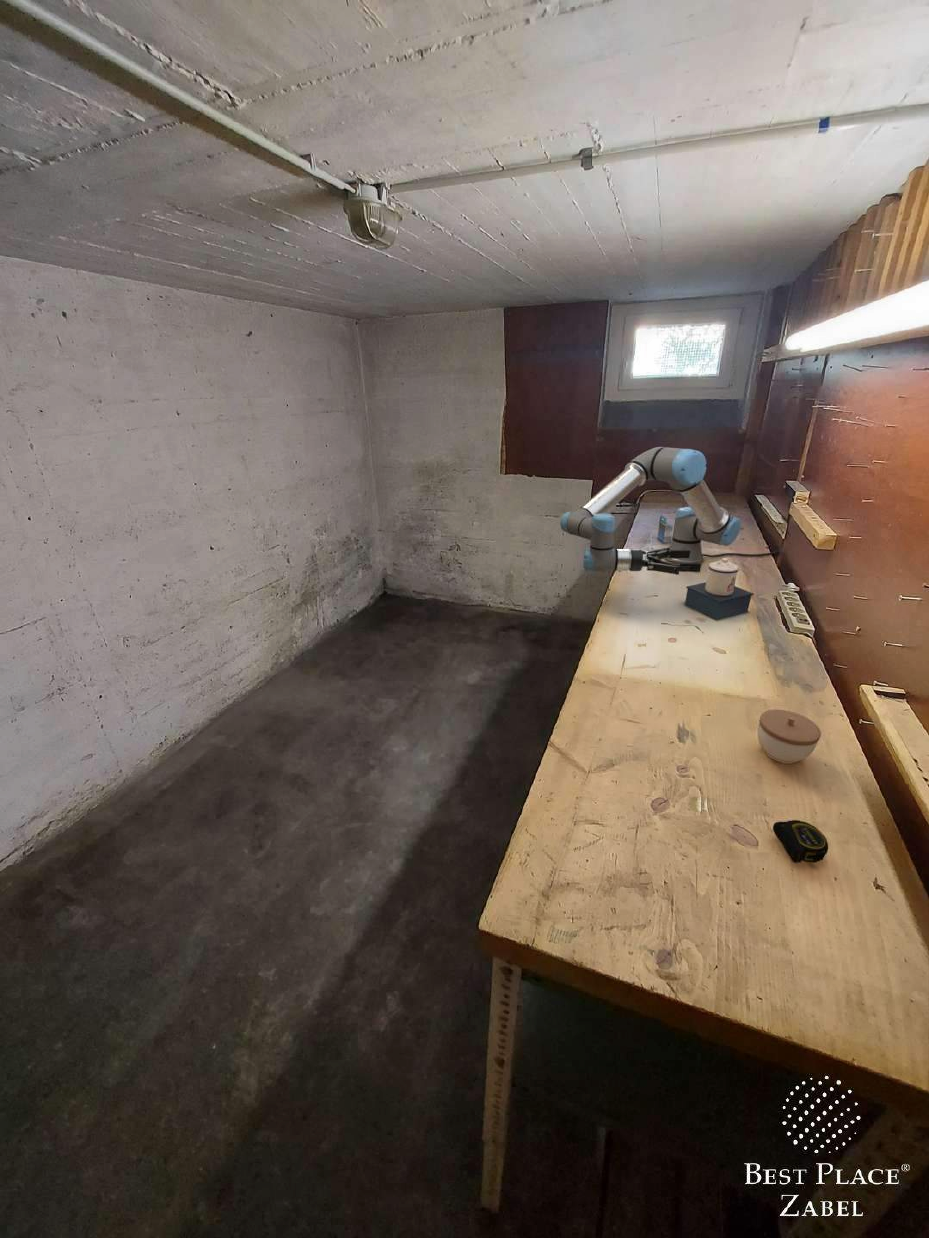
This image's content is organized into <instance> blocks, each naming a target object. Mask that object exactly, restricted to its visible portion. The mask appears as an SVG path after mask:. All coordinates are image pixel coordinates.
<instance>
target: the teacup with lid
mask: <svg viewBox="0 0 929 1238" xmlns="http://www.w3.org/2000/svg"><path fill="white" fill-rule="evenodd" d="M739 571H740V569H739V566H738V565H737V564H735V563H733V562H731V561H730V560H729V558H727V557H723V558H721V560H718V561H713V562H710V563H709V564H708V570H707V576H706V581H705V582H706V586H705V590H706V591H707V592H708V593H710V594H713V595H718V596H727V595H731V594H732V593H733V590H734V586H736V580H737V576H738V572H739Z"/></svg>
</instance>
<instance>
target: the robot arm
mask: <svg viewBox="0 0 929 1238" xmlns="http://www.w3.org/2000/svg"><path fill="white" fill-rule="evenodd" d="M706 472H707V460H706V457H705V455H704V454H703V453H702V452H701V451H699V450H697V449H696V450H695V449H692V448H680V447H679V448H677V447H666V446H658V447H657V446H656V447H653V448H651V449H648V450H646V451H644V452H642V453H641V454H639V455H637V456H635V457H634V458H633V459H632V460H630V461H629V462H628V463H627V464H626V465H625V467H624V470H623V471H622V472H621V473H619V474H618V475H617V476H615V477H614V479H612V480H611V481H610V482H608V483H607V484H606V485H605V486H604V487H603V488H602V489H601V490H599V491H598V492H597V493H596V494H595V495H593V496H592V497H591V498H590V499H588V501H586V502H585V503H584V504H583V505H582V506H580V507H579V508H578V509H577V510H576V511H575V512H574V511H567V512H565V513H564V514H562V516H561V518H560V521H559V527H560V529H561V530H562V532H564V533H567V534H569V535H573V536H576V537H579V538H582V539H585V540H589V541H590V544H589V548H586V549H584V550H583V556H582V568H583V570H585V571H589V572H618V573H621V572H628V571H630V572H641V571H642V568H646V571H648V572H649V571H651V572H658V573H659V572H660V573H666V574H672V575H678V576H679V575H680V573H700V572H701V568H702V562H703V558H704V557H708V558H716V557H722V556H723V557H724V556H741V557H762V556H771V555H775V554H778V553H777V552H776V551H777V550H775V551H772V552H764V553H737V552H725V553H719V554H705V553H703V552H702V551H703V550H702V542H703V541H704V542H707V543H709V544H710V543H711V544H715V545H718V546H723V547H728V546H730V545H732V544H733V543H734V542H735V541H736V539H737V537H738V536H739V533H740V530H741V528H742V521H741V519H740V518H738V517H736V516H731V515H730V513H729V511H728V510H727V509H726V508H725V507H721V506H720V505H719V503H718V502H717V500H716V498H715V496H714V495H713V493H712V492H711V490H710V488H709V487H708V485H707V484H706V481H705V480H704V477H705V475H706ZM649 481H659V482H665V483H667V484H668V485H669V486H670V488H671V489H672V490H673V491H674V492H675V493H680V494H681V496H682V497H683V499H684V500H685V502H686V503H687V505H688V506H684V507H683V506H682V507H679V508H678V509H677V510H676V513H675V516H674V523H673V530H672V537H671V542H670V544H669V545H668V547H662V548H655V549H650V550H649V549H648V550H643V549H639V548H634V549H628V548H616V549H615V548H613V547H614V538H615V531H616V526H615V524H616V518H615V515H613V514H611V513H608V512H609V511H610V510H611V509H613V508H614V507H615V506H616V505H617V504H618V503H620V501H622V500H623V499H624V498H625V497H626V496H628V495H629V494H630V493H631V492H632V491H633V490H635V489H636V488H637V487H640V486H643V485H644V484H646V483H647V482H649ZM662 559H665V560H662ZM666 560H667V561H666Z"/></svg>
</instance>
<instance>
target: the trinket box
mask: <svg viewBox="0 0 929 1238" xmlns="http://www.w3.org/2000/svg"><path fill="white" fill-rule="evenodd" d="M758 721H759V722H758V726H757V740H758V742H759V745H760V747H761V748H762V750H763V751H764V752H765V754H766V755H767V756H768V757H769V758H770V759H772V760H774V761H776V762H779V763H781V764H789V765H790V764H795V763H797V762H802V761H804V760H806V759H808V757H810V756H811V755H812V754H813V752H814V751H815V749H816V747H817V745H818V742H819V741H820V739H821V737H822V731H821V729H820V727H819V726H818V725H817V724H816V723H815V722H814V721H813V720H811V719H810V718H809V717H807V716H805V715H803V714H800V713H797V712H794V711H791V710H786V709H769V710H765V711H763V712H762V713H761V714H760V717H759V720H758Z"/></svg>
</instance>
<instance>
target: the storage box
mask: <svg viewBox="0 0 929 1238" xmlns="http://www.w3.org/2000/svg"><path fill="white" fill-rule="evenodd" d="M705 586H706V581H705V582H701V583H696V584H691V585H687V586H686V595H685V601H684V605H685V606H687V607H688V608H691V609H693V610H695V611H697V612H699V613H701V614H703V615H705V616H707V617H709V618H711V619H713V620H715V621H718V620H721V619H725V618H729V617H730V618H731V617H734V616H738V615H742V614H745V613H746V614H747V613H749V608H750V603H751V600H752V596H754V593H753V592H751V591H748V590H745V589H743V588H741V587H739V586H736V585H735V586H734V590H733V593H732V594H731V595H727V596H718V595H713V594H710V593H708V592H707V591H706V590H705Z"/></svg>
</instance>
